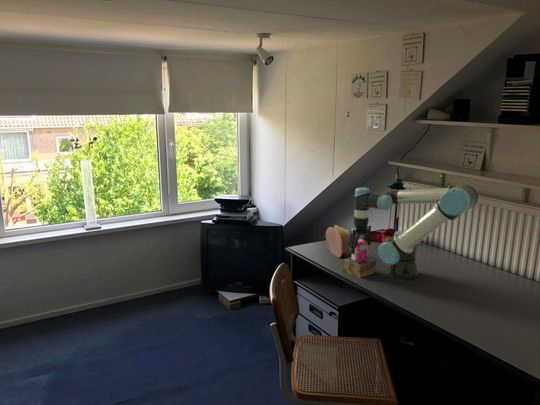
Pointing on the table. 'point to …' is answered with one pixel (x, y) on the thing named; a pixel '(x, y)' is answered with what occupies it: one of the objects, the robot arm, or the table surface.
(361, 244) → the supplement box
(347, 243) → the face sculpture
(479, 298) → the table surface
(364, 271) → the frame
